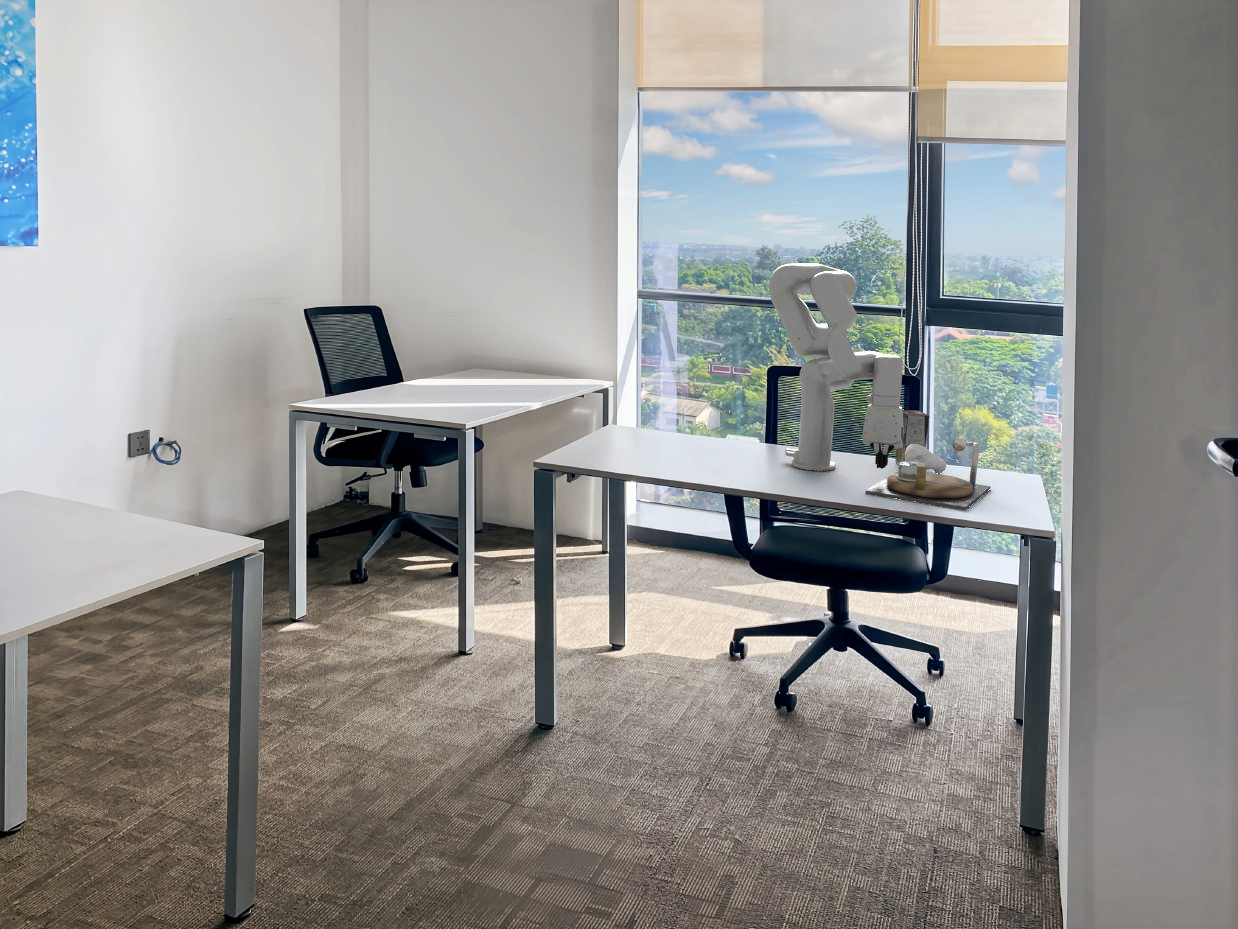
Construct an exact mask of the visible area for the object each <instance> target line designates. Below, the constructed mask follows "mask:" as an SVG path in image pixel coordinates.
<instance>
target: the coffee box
mask: <svg viewBox="0 0 1238 929" xmlns="http://www.w3.org/2000/svg"><path fill="white" fill-rule="evenodd" d="M902 411H903V423H904V432H903V440H902V444H903V447H902V448H899V449H895V450H896V452H895V460H894V461H895V462H897V463H898V464H897V463H896V464H897V465H898V466H899V463H900V462H905V451H906V448H907V446H909V445H911V444H919V445H922V446H924V447H925V448H927V440H928V430H929V422H930V421H929V420H930V415H928V414H926V413H925V412H924V411H921V410H914V409H913V410H902Z"/></svg>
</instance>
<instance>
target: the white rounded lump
mask: <svg viewBox="0 0 1238 929" xmlns="http://www.w3.org/2000/svg"><path fill="white" fill-rule="evenodd" d="M906 461H909V462H919V463H923V464H925V465H926V467H927V470H933V471H934V473H938V474H940V473H941V474H942V473H944V472H945V470H946V469H947V462H946V461H945V460H944V459H942V458H940V457H936V456H935V455H934V454H933V452H931V451H930V450H929V449H928V448H927V447H926V448H925V447H924V446H922V445H919V444H911V445H909V446H907V448H906V451H905V462H906ZM927 470H926V471H927Z"/></svg>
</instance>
